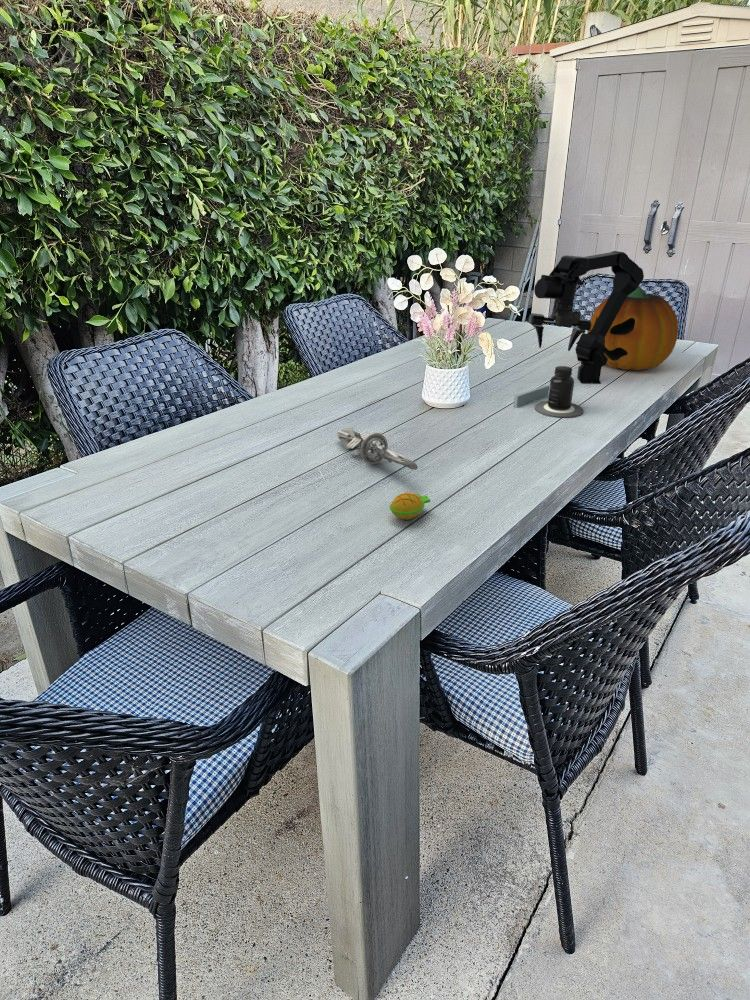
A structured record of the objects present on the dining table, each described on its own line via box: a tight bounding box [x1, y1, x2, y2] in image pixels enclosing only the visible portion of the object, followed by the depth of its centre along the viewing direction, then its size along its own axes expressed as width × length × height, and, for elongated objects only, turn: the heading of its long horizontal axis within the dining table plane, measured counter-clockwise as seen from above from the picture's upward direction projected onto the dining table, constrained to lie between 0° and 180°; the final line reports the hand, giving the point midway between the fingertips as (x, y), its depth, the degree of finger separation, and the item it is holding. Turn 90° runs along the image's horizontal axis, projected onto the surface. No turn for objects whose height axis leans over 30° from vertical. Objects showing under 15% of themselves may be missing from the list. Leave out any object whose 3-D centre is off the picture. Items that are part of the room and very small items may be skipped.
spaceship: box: [336, 427, 418, 471], centre depth 166 cm, size 8×35×8 cm
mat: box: [534, 400, 584, 419], centre depth 204 cm, size 14×14×1 cm
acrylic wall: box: [513, 384, 550, 408], centre depth 210 cm, size 16×1×4 cm, turn 132°
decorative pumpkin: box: [586, 285, 679, 371], centre depth 241 cm, size 30×30×30 cm
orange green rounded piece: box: [389, 491, 431, 521], centre depth 143 cm, size 7×10×5 cm
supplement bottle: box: [547, 365, 575, 411], centre depth 201 cm, size 7×7×12 cm
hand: (554, 349), depth 218 cm, fingers open, 9 cm apart
